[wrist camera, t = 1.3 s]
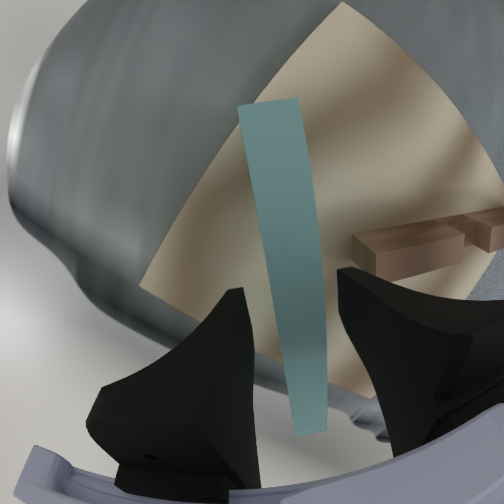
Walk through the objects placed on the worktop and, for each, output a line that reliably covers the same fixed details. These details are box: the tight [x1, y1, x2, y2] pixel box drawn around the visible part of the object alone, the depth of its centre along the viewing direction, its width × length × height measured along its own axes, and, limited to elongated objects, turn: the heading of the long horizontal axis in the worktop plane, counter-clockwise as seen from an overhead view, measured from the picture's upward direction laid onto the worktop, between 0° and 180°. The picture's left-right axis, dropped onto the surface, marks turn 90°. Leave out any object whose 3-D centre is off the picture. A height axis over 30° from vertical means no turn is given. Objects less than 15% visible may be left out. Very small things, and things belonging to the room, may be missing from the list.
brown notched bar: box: [352, 206, 504, 282], centre depth 12 cm, size 14×2×3 cm, turn 100°
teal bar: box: [237, 98, 328, 436], centre depth 11 cm, size 14×2×6 cm, turn 11°
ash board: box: [139, 2, 504, 399], centre depth 14 cm, size 20×20×1 cm
